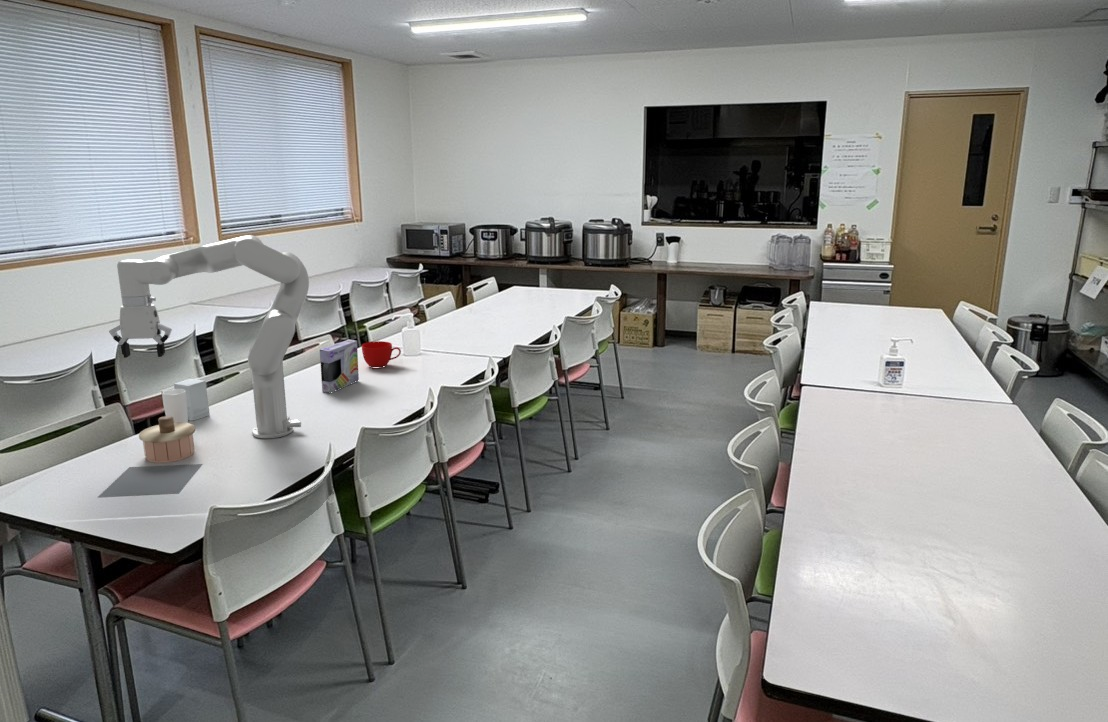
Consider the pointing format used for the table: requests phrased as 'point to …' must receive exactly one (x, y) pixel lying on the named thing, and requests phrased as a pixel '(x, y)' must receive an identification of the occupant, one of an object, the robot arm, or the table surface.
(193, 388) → the supplement box
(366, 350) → the ceramic cup
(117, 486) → the mat
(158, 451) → the bowl
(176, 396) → the drinking glass
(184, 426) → the lid
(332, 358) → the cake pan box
